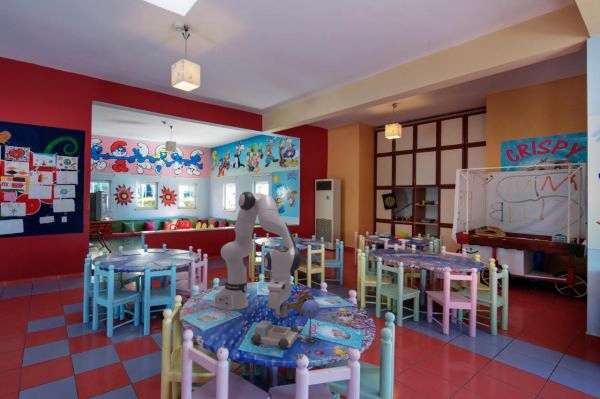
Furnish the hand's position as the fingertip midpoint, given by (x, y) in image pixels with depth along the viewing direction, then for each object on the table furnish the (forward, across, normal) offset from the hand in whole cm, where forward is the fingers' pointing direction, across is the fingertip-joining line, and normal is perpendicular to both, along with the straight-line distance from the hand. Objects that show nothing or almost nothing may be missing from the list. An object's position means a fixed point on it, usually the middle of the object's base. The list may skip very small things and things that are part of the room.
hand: (280, 312), depth 144 cm
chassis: (+13, 0, -2) cm, 13 cm away
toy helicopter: (+13, -33, 0) cm, 35 cm away
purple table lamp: (+13, -6, +13) cm, 19 cm away
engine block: (+2, 0, 0) cm, 2 cm away
